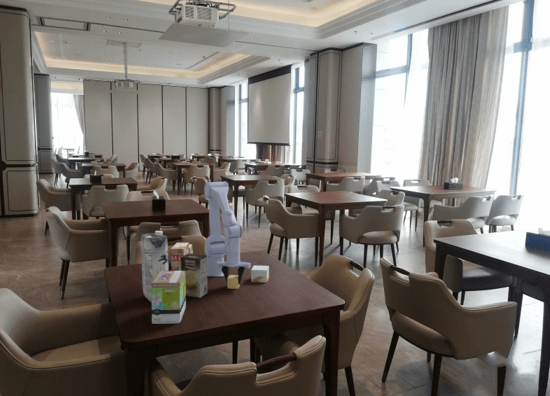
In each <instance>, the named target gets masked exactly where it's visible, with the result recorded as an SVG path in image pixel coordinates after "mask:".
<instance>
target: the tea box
mask: <svg viewBox="0 0 550 396" xmlns="http://www.w3.org/2000/svg"><path fill="white" fill-rule="evenodd" d="M186 307H187V296H186V281H185V271H171V270H169V271H159V272H158V274H157V276H156V277H155V279H154V280H153V282H152V302H151V324H153V325H154V324H156V325H162V324H163V325H165V324H180V323H181V321H182V319H183V316H184V314H185V310H186Z"/></svg>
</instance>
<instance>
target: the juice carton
mask: <svg viewBox="0 0 550 396" xmlns="http://www.w3.org/2000/svg"><path fill="white" fill-rule="evenodd" d="M163 232H164V231H162V230H155V231H154V232H153V233H152V232H149V233H141V235H140V238H141V239H140V256H141V259H140V260H141V278H142V279H141V281H142V282H141V284H142V291H143V295H144V297H145V298H146V299H147V300H148V301H149V302H150V303H152V282H153V280H154V279H155V277H156V276H157V274H158V272H159V271H170V270H169V248H168V247H169V246H168V236H167V235H164V234H163Z"/></svg>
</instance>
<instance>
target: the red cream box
mask: <svg viewBox="0 0 550 396" xmlns="http://www.w3.org/2000/svg"><path fill="white" fill-rule="evenodd" d="M188 253H189V254H194V251H193V243H191V244H190V243H189V242H176V243H175V244H174V245H173V246H172V247H171V248H170V262H171V264H170V265H171V268H170V269H171V270H170V271H181V257H182V256H184V255H186V254H188Z"/></svg>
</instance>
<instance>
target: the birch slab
mask: <svg viewBox="0 0 550 396" xmlns="http://www.w3.org/2000/svg"><path fill="white" fill-rule="evenodd" d="M250 276H251V275H250ZM269 279H270V272H269V273H268V275H267V277H257V276H251V277H250V281H251V283H268V282H269ZM267 281H268V282H267Z"/></svg>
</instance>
